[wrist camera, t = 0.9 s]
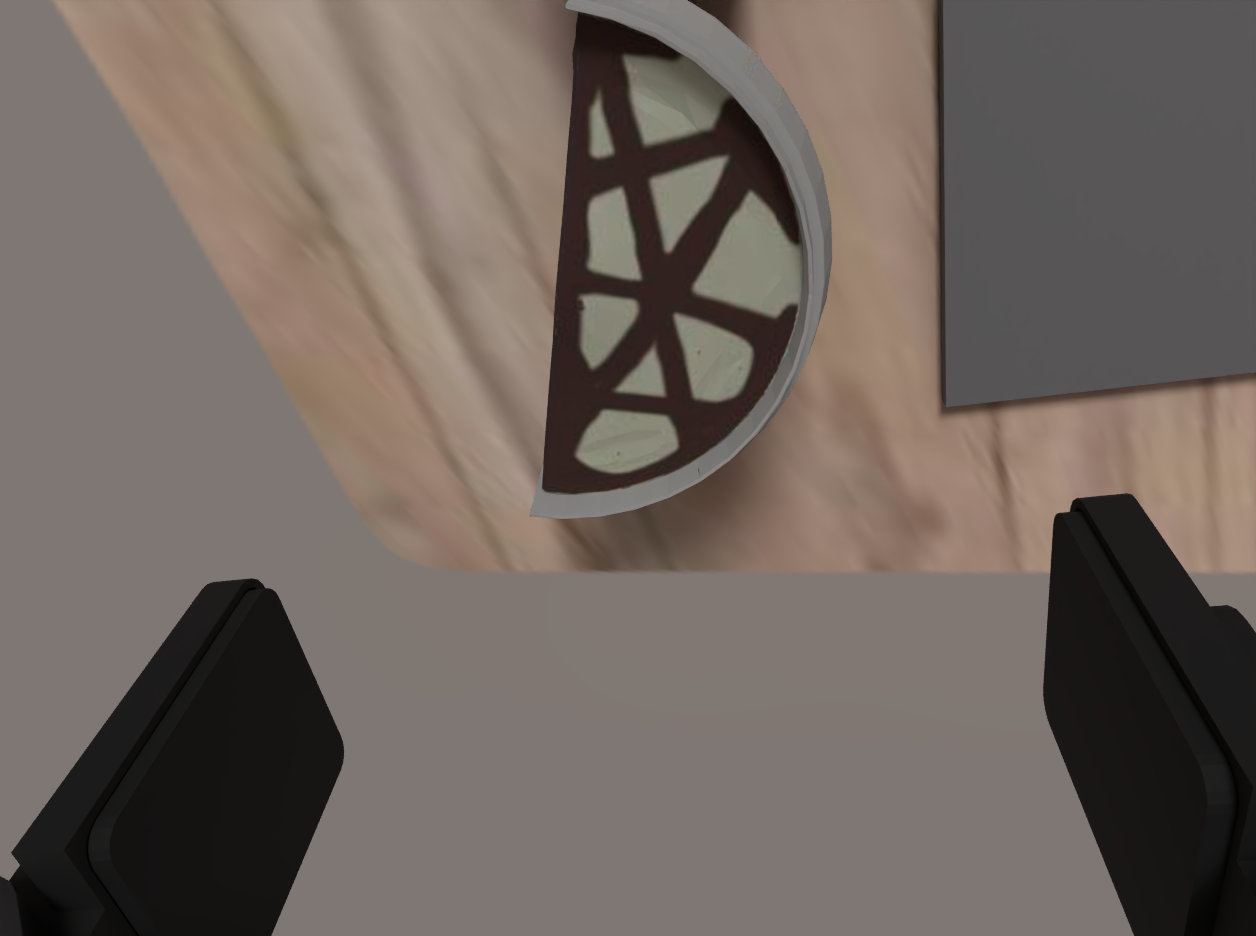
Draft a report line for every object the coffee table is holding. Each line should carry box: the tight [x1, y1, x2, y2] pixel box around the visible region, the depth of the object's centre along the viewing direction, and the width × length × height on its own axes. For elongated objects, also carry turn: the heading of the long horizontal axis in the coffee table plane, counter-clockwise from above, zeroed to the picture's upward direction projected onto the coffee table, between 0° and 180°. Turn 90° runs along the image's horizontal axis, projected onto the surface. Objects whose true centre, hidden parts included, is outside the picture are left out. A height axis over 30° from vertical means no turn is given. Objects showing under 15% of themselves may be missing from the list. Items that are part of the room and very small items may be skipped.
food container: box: [530, 0, 832, 519], centre depth 25 cm, size 12×6×10 cm, turn 174°
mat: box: [939, 0, 1256, 407], centre depth 26 cm, size 14×16×1 cm
